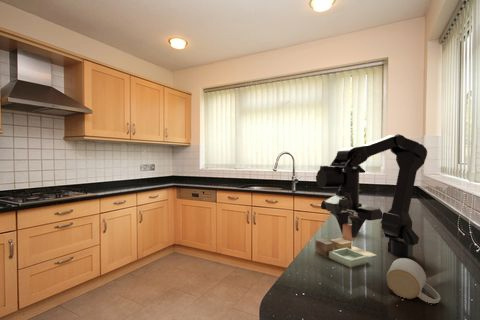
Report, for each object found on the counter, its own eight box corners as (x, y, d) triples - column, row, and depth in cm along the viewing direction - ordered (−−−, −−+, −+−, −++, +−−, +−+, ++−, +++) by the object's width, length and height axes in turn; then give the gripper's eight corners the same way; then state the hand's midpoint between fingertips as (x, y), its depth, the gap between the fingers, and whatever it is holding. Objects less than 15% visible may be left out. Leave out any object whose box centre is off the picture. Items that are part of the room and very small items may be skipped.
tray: (368, 262, 76) (368, 256, 76) (350, 267, 72) (350, 260, 72) (346, 253, 83) (346, 247, 83) (329, 257, 79) (329, 251, 79)
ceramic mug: (384, 294, 61) (385, 263, 61) (391, 281, 67) (392, 254, 67) (438, 312, 54) (440, 278, 54) (440, 297, 60) (442, 266, 60)
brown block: (333, 255, 82) (333, 243, 82) (326, 256, 80) (326, 244, 80) (321, 249, 86) (321, 238, 86) (315, 251, 85) (315, 239, 85)
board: (377, 259, 82) (377, 255, 82) (342, 269, 75) (342, 264, 75) (347, 247, 93) (347, 243, 93) (314, 255, 85) (314, 250, 85)
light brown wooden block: (351, 250, 86) (351, 242, 86) (341, 253, 84) (341, 244, 84) (339, 246, 90) (339, 238, 90) (330, 248, 88) (330, 239, 88)
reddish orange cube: (357, 239, 77) (357, 225, 77) (349, 241, 75) (349, 227, 75) (347, 236, 80) (347, 223, 80) (340, 238, 78) (340, 224, 78)
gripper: (309, 185, 82) (308, 231, 82) (357, 192, 66) (357, 250, 66) (332, 183, 87) (332, 227, 87) (383, 190, 71) (383, 243, 71)
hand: (348, 236), depth 78 cm, fingers closed on reddish orange cube, 3 cm apart
